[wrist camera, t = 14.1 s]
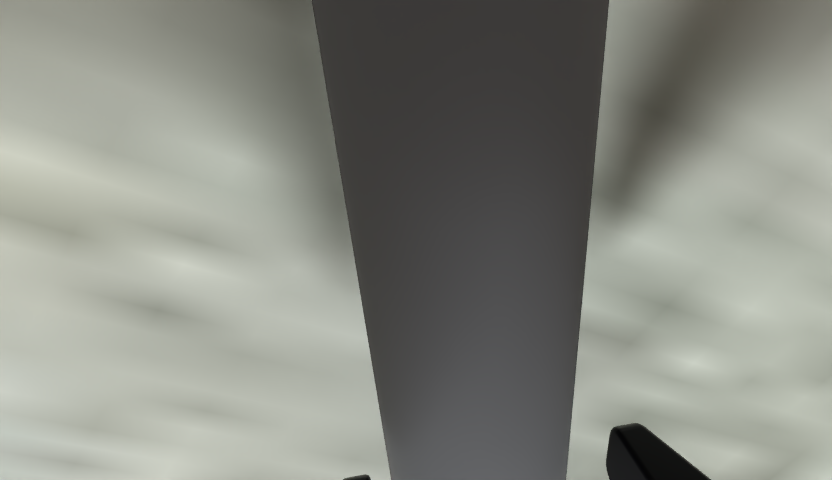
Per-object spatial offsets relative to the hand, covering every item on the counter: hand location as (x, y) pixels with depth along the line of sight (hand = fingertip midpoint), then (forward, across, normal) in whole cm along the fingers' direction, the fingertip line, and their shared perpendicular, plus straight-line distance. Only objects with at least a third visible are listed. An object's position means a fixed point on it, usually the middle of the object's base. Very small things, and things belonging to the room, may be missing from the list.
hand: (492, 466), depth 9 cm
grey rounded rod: (+3, 0, 0) cm, 3 cm away
